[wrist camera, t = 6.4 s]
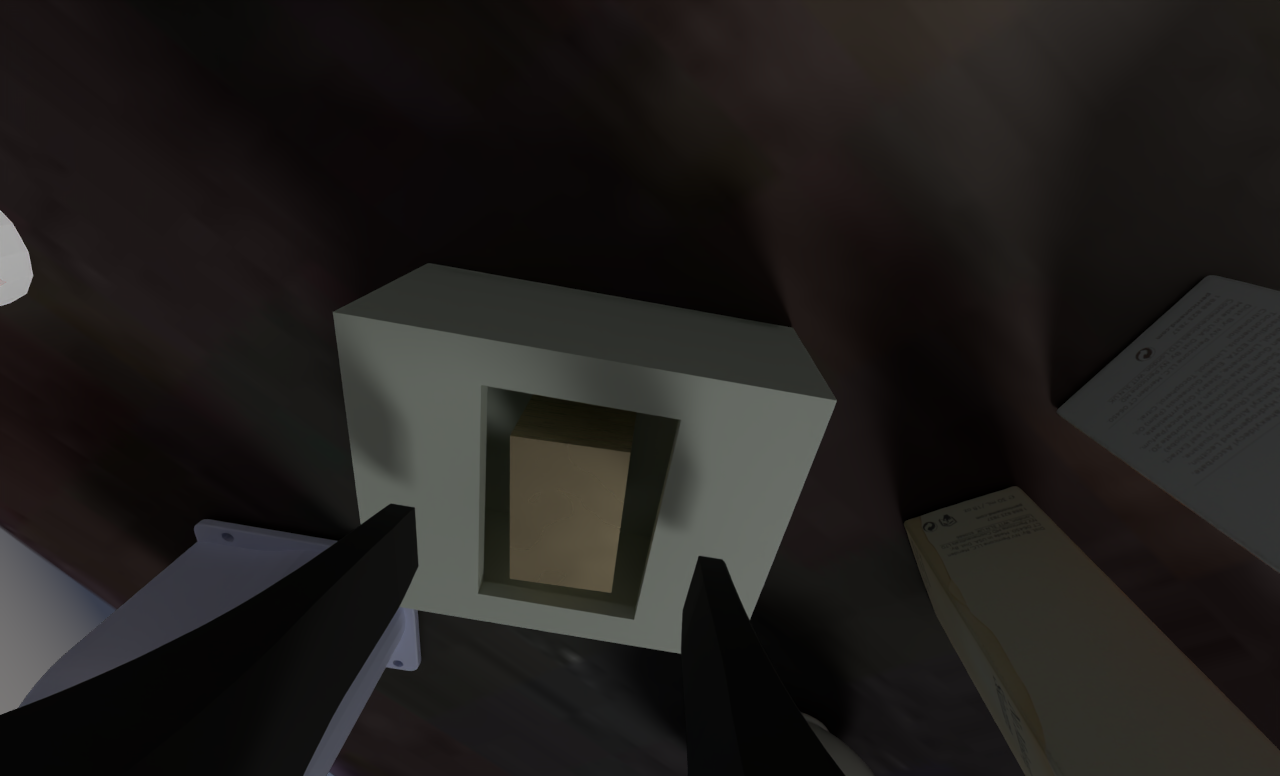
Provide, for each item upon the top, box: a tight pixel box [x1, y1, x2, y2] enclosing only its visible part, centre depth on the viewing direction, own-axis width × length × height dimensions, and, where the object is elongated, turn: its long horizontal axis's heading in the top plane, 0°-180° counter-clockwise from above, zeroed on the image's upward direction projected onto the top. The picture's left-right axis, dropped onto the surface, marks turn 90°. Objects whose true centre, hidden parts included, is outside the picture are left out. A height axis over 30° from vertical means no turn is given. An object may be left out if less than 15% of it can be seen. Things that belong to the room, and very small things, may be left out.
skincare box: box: [904, 486, 1280, 776], centre depth 15 cm, size 6×4×12 cm
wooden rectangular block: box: [510, 394, 637, 593], centre depth 16 cm, size 3×5×5 cm, turn 173°
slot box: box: [333, 263, 837, 654], centre depth 16 cm, size 12×10×5 cm
